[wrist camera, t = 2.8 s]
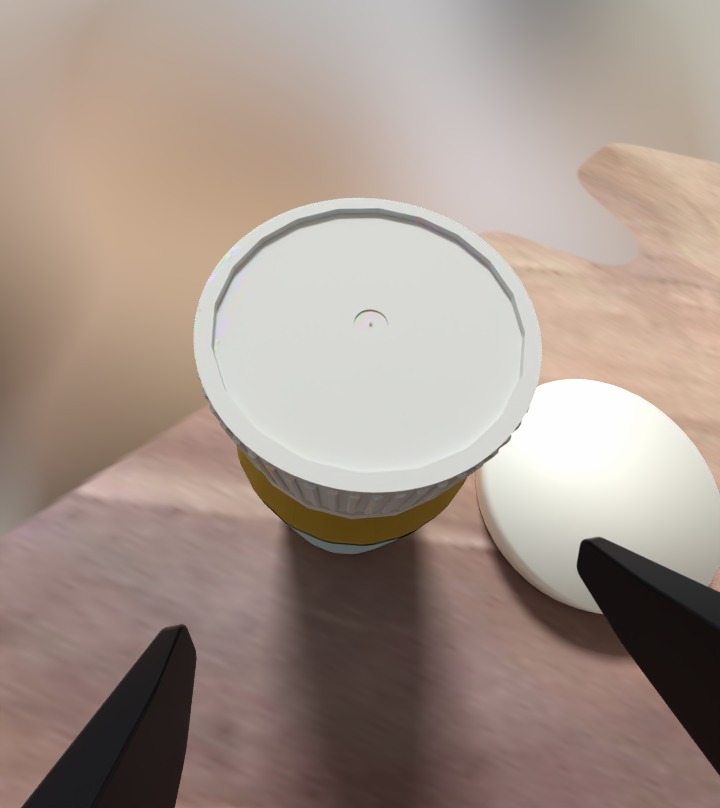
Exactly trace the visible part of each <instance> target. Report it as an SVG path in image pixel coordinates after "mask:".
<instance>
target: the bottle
mask: <svg viewBox="0 0 720 808" xmlns="http://www.w3.org/2000/svg"><path fill="white" fill-rule="evenodd" d="M194 351H195V361H196V365H197V369H198V378H199V380H200V381H201V382H202V384H203V393H204V396H205V397H206V399H207V400H208V401H209V402H210V409H211V411H212V413H213V414H214V415H215V416H216V417H217V419H218V420H219V421H220V425H221V426H222V428H223V429H224V430H225V431H226V433H227V434H228V435H229V436H230V437H231V439H232V440H233V441H234V442H235V443H236V445H237V451H238V456H239V460H240V463H241V465H242V467H243V469H244V471H245V473H246V475H247V477H248V479H249V481H250V483H251V485H252V487H253V489H254V491H255V492H256V493H257V495H258V496H259V497H260V499H261V500H262V501H263V502H264V503H265V504H266V505H267V506H268V507H269V508H270V509H271V510H272V511H273V512H274V513H275V514H276V515H277V516H278V517H279V518H281V519H282V520H283V521H284V522H285V523H286V524H287V525H288V526H290V527H291V528H292V529H293V530H295V531H296V532H297V533H298V534H300V535H301V536H302V537H303V538H305V539H306V540H307V541H308V542H310V543H311V544H313V545H315V546H317V547H320V548H322V549H324V550H326V551H329V552H333V553H342V554H358V553H362V552H366V551H369V550H373V549H376V548H378V547H381V546H383V545H385V544H388V543H390V542H393V541H395V540H397V539H400V538H402V537H404V536H407V535H409V534H411V533H413V532H414V531H416V530H417V529H419V528H420V527H421V526H423V525H424V524H426V523H427V522H429V521H430V520H432V519H433V518H435V517H436V516H437V515H438V514H440V513H441V512H442V511H443V510H444V509H445V508H446V507H447V506H448V505H449V503H450V502H451V501H452V499H453V498H454V496H455V495H456V494H457V492H458V491H459V489H460V488H461V487H462V485H463V484H464V482H465V480H466V478H467V476H469V475H470V474H472V473H473V472H475V471H476V470H478V469H479V468H481V467H482V466H483V464H484V463H486V462H487V461H489V460H490V459H492V458H493V457H494V456H495V455H497V454H498V451H499V449H500V448H501V447H503V446H504V445H505V444H507V443H508V442H509V441H510V439H511V434H512V433H513V432H514V431H515V430H517V429H518V428H519V427H520V425H521V422H522V419H523V417H524V415H525V414H526V413H527V412H528V410H529V406H530V404H531V401H532V399H533V397H534V394H535V391H536V388H537V384H538V380H539V376H540V369H541V359H542V345H541V335H540V329H539V324H538V320H537V316H536V313H535V310H534V307H533V305H532V302H531V300H530V298H529V296H528V294H527V292H526V290H525V288H524V286H523V284H522V283H521V281H520V280H519V278H518V277H517V275H516V274H515V272H514V271H513V270H512V268H511V267H510V266H509V265H508V263H507V262H506V261H505V260H504V259H503V258H502V257H501V256H500V255H499V254H498V253H497V252H496V251H495V250H494V249H493V248H492V247H491V246H490V245H489V244H488V243H486V242H485V241H484V240H483V239H481V238H480V237H479V236H477V235H476V234H474V233H473V232H472V231H470V230H469V229H467V228H465V227H464V226H462V225H460V224H459V223H456V222H455V221H453V220H451V219H449V218H447V217H445V216H442V215H440V214H438V213H435V212H432V211H430V210H427V209H424V208H421V207H418V206H414V205H411V204H407V203H402V202H397V201H391V200H384V199H374V198H346V199H335V200H327V201H322V202H317V203H313V204H309V205H305V206H302V207H298V208H295V209H293V210H290V211H287V212H285V213H282V214H280V215H278V216H276V217H274V218H272V219H270V220H268V221H266V222H265V223H263V224H261V225H260V226H258V227H257V228H255V229H254V230H252V231H251V232H250V233H248V234H247V235H246V236H244V237H243V238H242V239H241V240H240V241H239V242H237V243H236V244H235V245H234V246H233V247H232V248H231V249H230V250H229V251H228V252H227V254H226V255H225V256H224V257H223V258H222V260H221V261H220V262H219V263H218V265H217V267H216V268H215V269H214V271H213V273H212V274H211V276H210V278H209V279H208V281H207V283H206V285H205V288H204V290H203V292H202V295H201V298H200V301H199V304H198V308H197V312H196V317H195V325H194Z"/></svg>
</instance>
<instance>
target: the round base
mask: <svg viewBox="0 0 720 808" xmlns="http://www.w3.org/2000/svg"><path fill="white" fill-rule="evenodd" d="M475 485H476V492H477V499H478V503H479V507H480V511H481V514H482V517H483V519H484V522H485V525H486V527H487V529H488V531H489V533H490V535H491V537H492V539H493V541H494V543H495V544H496V546H497V547H498V549H499V550H500V552H501V553H502V555H503V556H504V557H505V558H506V560H507V561H508V562H509V563H510V564H511V566H512V567H513V568H514V569H515V570H516V571H517V572H518V573H519V574H520V575H521V576H522V577H523V578H524V579H525V580H527V581H528V582H529V583H530V584H532V585H533V586H534V587H536V588H537V589H538V590H540V591H541V592H543V593H544V594H546V595H548V596H549V597H551V598H553V599H555V600H557V601H559V602H561V603H564V604H566V605H568V606H571V607H574V608H577V609H581V610H584V611H588V612H593V613H599V614H603V613H602V612H601V610H600V608H599V607H598V605H597V603H596V602H595V600H594V599H593V597H592V595H591V594H590V592H589V591H588V589H587V587H586V586H585V584H584V582H583V581H582V579H581V578H580V576H579V574H578V571H577V566H576V565H577V559H578V553H579V547H580V543H581V541H582V540H584V539H587V538H592V537H602V538H605V539H607V540H609V541H611V542H613V543H615V544H617V545H620V546H622V547H624V548H626V549H628V550H630V551H632V552H635V553H637V554H639V555H641V556H643V557H645V558H647V559H650V560H652V561H654V562H656V563H658V564H660V565H662V566H665V567H667V568H669V569H671V570H673V571H675V572H677V573H680V574H682V575H684V576H686V577H688V578H690V579H692V580H695V581H697V582H699V583H701V584H703V585H705V586H707V587H708V586H709V584H710V583H711V582H712V580H713V578H714V576H715V574H716V572H717V570H718V568H719V565H720V494H719V491H718V488H717V486H716V483H715V480H714V478H713V476H712V474H711V472H710V470H709V468H708V466H707V464H706V462H705V460H704V459H703V457H702V456H701V454H700V452H699V451H698V449H697V448H696V447H695V445H694V444H693V443H692V441H691V440H690V439H689V438H688V436H687V435H686V434H685V433H684V432H683V431H682V430H681V429H680V428H679V427H678V426H677V424H675V423H674V422H673V421H672V420H671V419H670V418H669V417H668V416H666V415H665V414H664V413H663V412H662V411H660V410H659V409H657V408H656V407H655V406H653V405H652V404H651V403H649V402H647V401H646V400H644V399H642V398H641V397H639V396H637V395H635V394H633V393H631V392H629V391H627V390H624V389H622V388H619V387H616V386H613V385H610V384H606V383H602V382H598V381H592V380H585V379H567V380H558V381H554V382H550V383H546V384H543V385H540V386H538V387H537V388H536V391H535V394H534V397H533V399H532V401H531V404H530V406H529V410H528V412H527V413H526V414H525V415H524V417H523V419H522V422H521V425H520V427H519V428H518V429H517V430H515V431H514V432H513V433H512V434H511V439H510V441H509V442H508V443H507V444H505V445H504V446H503V447H501V448H500V449H499V451H498V454H497V455H495V456H494V457H493V458H492V459H490V460H489V461H487V462H486V463H484V464H483V466H482V467H481V468H479V469H478V470H476V471H475Z"/></svg>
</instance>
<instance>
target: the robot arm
mask: <svg viewBox="0 0 720 808" xmlns="http://www.w3.org/2000/svg"><path fill="white" fill-rule="evenodd" d="M576 566H577V571H578V574H579V576H580V578H581V579H582V581H583V582H584V584H585V586H586V587H587V589H588V591H589V592H590V594H591V595H592V597H593V599H594V600H595V602H596V603H597V605H598V607H599V608H600V610H601V612H602V613H603V615H604V616H605V618H606V620H607V621H608V623H609V624H610V626H611V628H612V629H613V631H614V632H615V634H616V635H617V637H618V638H619V640H620V641H621V643H622V644H623V646H624V647H625V648H626V650H627V651H628V653H629V654H630V655H631V657H632V658H633V659H634V661H635V662H636V663H637V665H638V666H639V668H640V669H641V670H642V672H643V673H644V674H645V676H646V677H647V678H648V680H649V681H650V682H651V684H652V685H653V686H654V688H655V689H656V690H657V692H658V693H659V694H660V696H661V697H662V699H663V700H664V701H665V703H666V704H667V705H668V707H669V708H670V709H671V711H672V712H673V713H674V715H675V716H676V717H677V719H678V720H679V721H680V723H681V724H682V726H683V727H684V728H685V730H686V731H687V732H688V734H689V735H690V736H691V738H692V739H693V740H694V742H695V743H696V744H697V746H698V747H699V748H700V750H701V751H702V752H703V754H704V755H705V757H706V758H707V759H708V761H709V762H710V763H711V765H712V766H713V767H714V769H715V770H716V771H717V773H718V774H719V775H720V592H718V591H716V590H714V589H712V588H710V587H707V586H705V585H703V584H701V583H699V582H697V581H695V580H692V579H690V578H688V577H686V576H684V575H682V574H680V573H677V572H675V571H673V570H671V569H669V568H667V567H665V566H662V565H660V564H658V563H656V562H654V561H652V560H650V559H647V558H645V557H643V556H641V555H639V554H637V553H635V552H632V551H630V550H628V549H626V548H624V547H622V546H620V545H617V544H615V543H613V542H611V541H609V540H607V539H605V538H602V537H592V538H587V539H584V540H582V541H581V543H580V547H579V553H578V559H577V565H576ZM195 668H196V650H195V647H194V644H193V642H192V639H191V637H190V634H189V632H188V629H187V627H186V626H185V625H184V624H180V625H175V626H170V627H166V628H164V629H163V630H161V631H160V632H159V634H158V635H157V636H156V637H155V639H154V640H153V641H152V643H151V644H150V645H149V646H148V648H147V649H146V650H145V651H144V653H143V654H142V655H141V656H140V658H139V659H138V660H137V662H136V663H135V664H134V665H133V667H132V668H131V669H130V670H129V672H128V673H127V674H126V675H125V677H124V678H123V679H122V681H121V682H120V683H119V684H118V686H117V687H116V688H115V689H114V691H113V692H112V693H111V694H110V696H109V697H108V698H107V700H106V701H105V702H104V703H103V705H102V706H101V707H100V708H99V710H98V711H97V712H96V713H95V715H94V716H93V717H92V719H91V720H90V721H89V722H88V724H87V725H86V726H85V727H84V729H83V730H82V731H81V732H80V734H79V735H78V736H77V738H76V739H75V740H74V741H73V743H72V744H71V745H70V746H69V748H68V749H67V750H66V751H65V753H64V754H63V755H62V757H61V758H60V759H59V760H58V762H57V763H56V764H55V765H54V767H53V768H52V769H51V770H50V772H49V773H48V774H47V776H46V777H45V778H44V779H43V781H42V782H41V783H40V784H39V786H38V787H37V788H36V789H35V791H34V792H33V793H32V795H31V796H30V797H29V798H28V800H27V801H26V802H25V803H24V805H23V806H22V807H21V808H175V804H176V799H177V794H178V789H179V784H180V779H181V774H182V770H183V765H184V759H185V754H186V747H187V739H188V731H189V722H190V713H191V704H192V695H193V686H194V677H195Z"/></svg>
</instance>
